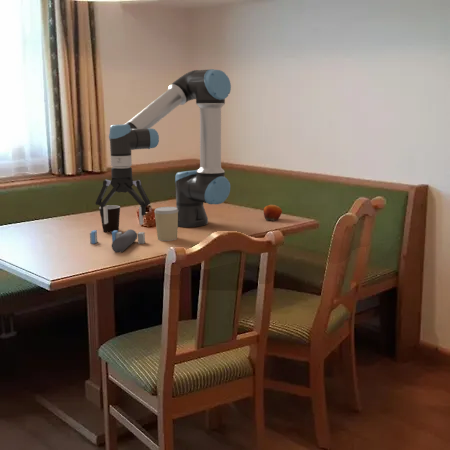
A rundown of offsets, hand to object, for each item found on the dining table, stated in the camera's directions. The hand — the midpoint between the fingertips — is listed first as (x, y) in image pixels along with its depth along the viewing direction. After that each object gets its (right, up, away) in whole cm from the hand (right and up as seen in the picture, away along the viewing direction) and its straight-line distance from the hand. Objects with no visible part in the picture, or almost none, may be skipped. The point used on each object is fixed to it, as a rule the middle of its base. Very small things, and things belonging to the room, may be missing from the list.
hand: (123, 223), depth 249 cm
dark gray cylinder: (0, -9, +2) cm, 9 cm away
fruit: (+59, +2, +44) cm, 73 cm away
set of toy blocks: (-4, -7, +9) cm, 12 cm away
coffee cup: (+15, -6, +14) cm, 21 cm away
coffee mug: (-10, -3, +32) cm, 33 cm away
